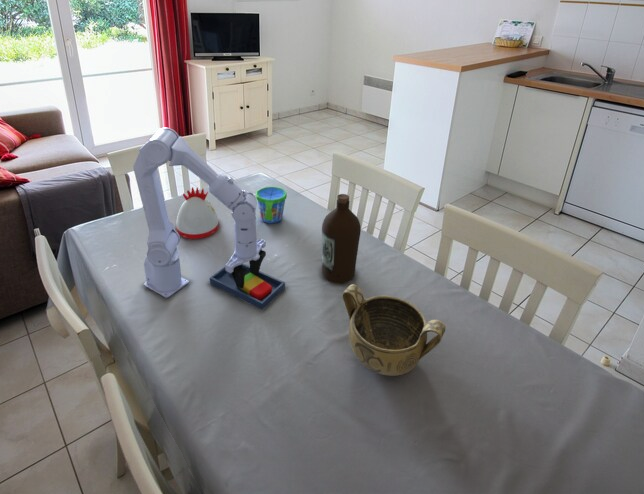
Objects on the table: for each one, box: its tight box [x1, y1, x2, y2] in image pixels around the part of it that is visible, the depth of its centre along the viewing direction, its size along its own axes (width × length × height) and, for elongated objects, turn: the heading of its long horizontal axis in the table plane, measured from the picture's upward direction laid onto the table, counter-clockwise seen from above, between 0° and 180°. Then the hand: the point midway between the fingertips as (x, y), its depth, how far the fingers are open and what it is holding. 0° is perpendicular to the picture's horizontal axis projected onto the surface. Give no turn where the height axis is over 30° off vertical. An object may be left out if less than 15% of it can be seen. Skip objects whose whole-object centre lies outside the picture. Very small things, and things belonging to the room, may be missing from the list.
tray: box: [209, 263, 286, 310], centre depth 117 cm, size 18×10×2 cm, turn 57°
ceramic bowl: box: [342, 283, 446, 377], centre depth 93 cm, size 22×17×15 cm
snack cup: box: [255, 186, 288, 224], centre depth 149 cm, size 16×10×10 cm
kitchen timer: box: [175, 186, 220, 240], centre depth 142 cm, size 14×14×15 cm
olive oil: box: [321, 193, 362, 285], centre depth 119 cm, size 11×11×25 cm
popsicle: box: [237, 273, 272, 300], centre depth 117 cm, size 6×15×2 cm, turn 48°
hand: (247, 280), depth 117 cm, fingers closed on popsicle, 6 cm apart
